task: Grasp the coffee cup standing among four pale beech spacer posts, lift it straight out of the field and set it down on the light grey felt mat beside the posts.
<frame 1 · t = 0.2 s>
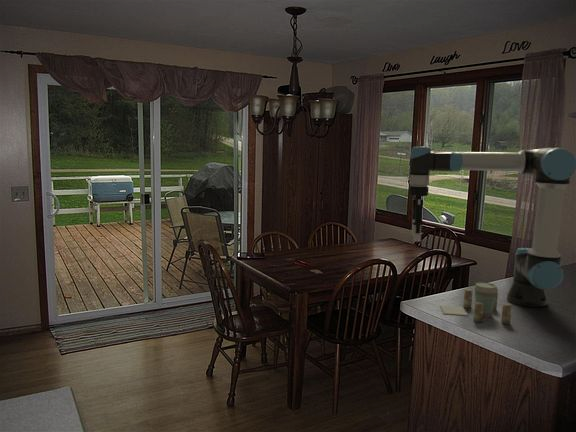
hand: (415, 238, 194), 28 cm above the table, fingers open, 13 cm apart
spacer posts: (483, 314, 187), on the table
felt mat: (453, 311, 190), on the table
coffee cup: (483, 315, 187), on the table
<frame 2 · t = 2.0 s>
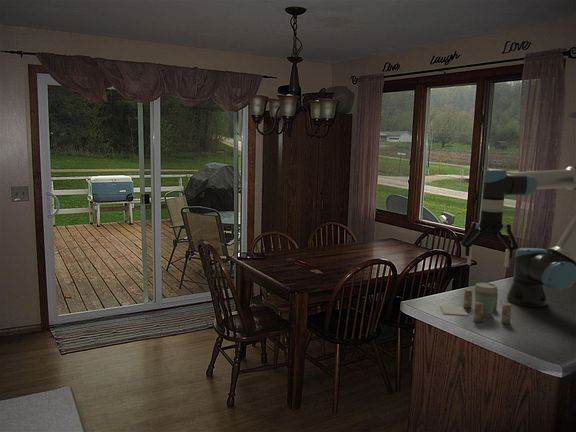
hand: (487, 265, 184), 20 cm above the table, fingers open, 13 cm apart
nothing on the table moved.
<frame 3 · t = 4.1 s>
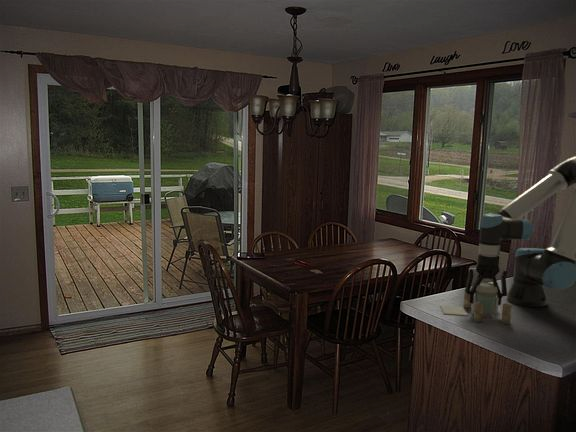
hand: (484, 311, 186), 1 cm above the table, fingers closed on coffee cup, 8 cm apart
coffee cup: (483, 315, 187), on the table, touching gripper
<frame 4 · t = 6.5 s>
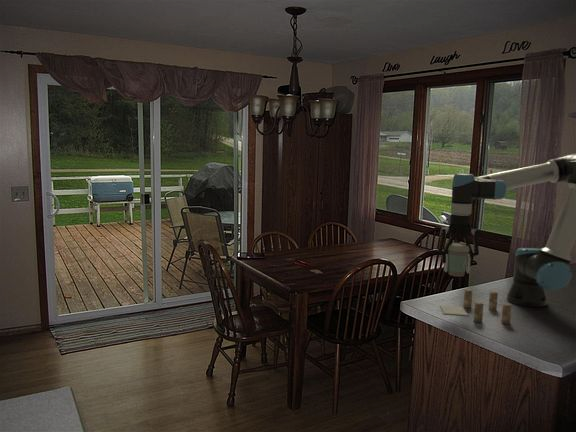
hand: (456, 271, 188), 16 cm above the table, fingers closed on coffee cup, 8 cm apart
coffee cup: (456, 275, 188), point 15 cm above the table, touching gripper
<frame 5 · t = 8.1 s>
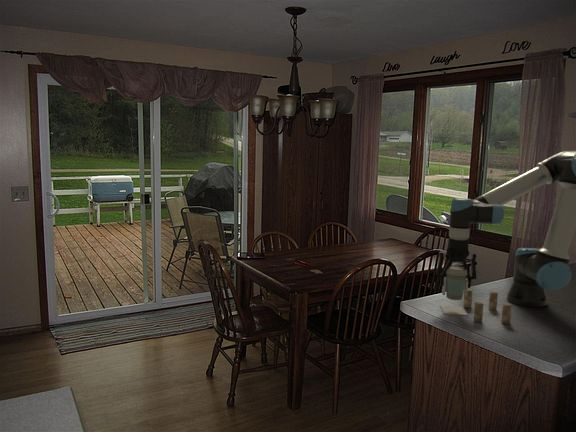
hand: (454, 294, 189), 7 cm above the table, fingers closed on coffee cup, 8 cm apart
coffee cup: (454, 298, 189), point 5 cm above the table, touching gripper
when the fingers open (3 cm above the table, at t = 9.2 s): coffee cup moves 2 cm, point 1 cm above the table.
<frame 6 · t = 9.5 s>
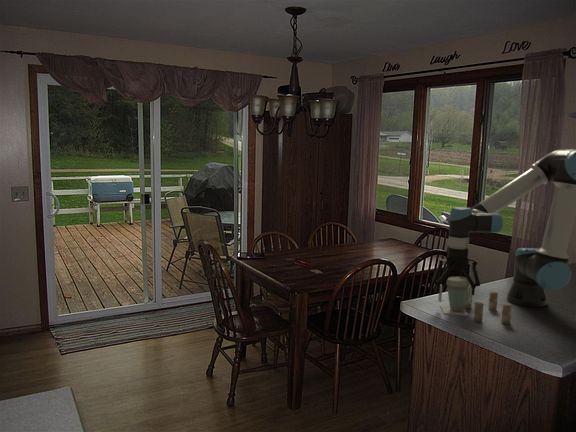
hand: (454, 301, 190), 4 cm above the table, fingers open, 10 cm apart
coffee cup: (457, 309, 190), point 1 cm above the table
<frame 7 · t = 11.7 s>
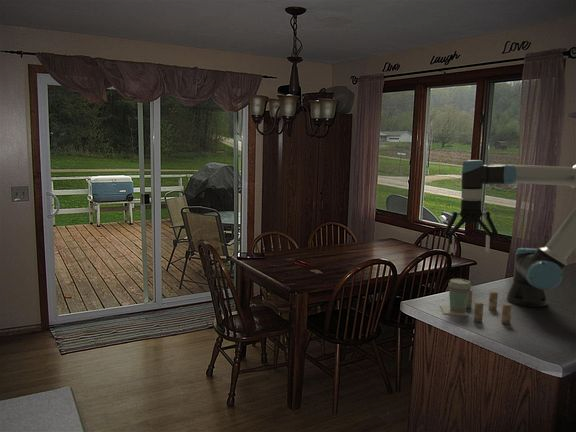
hand: (469, 252, 192), 23 cm above the table, fingers open, 13 cm apart
coffee cup: (457, 311, 190), resting on felt mat
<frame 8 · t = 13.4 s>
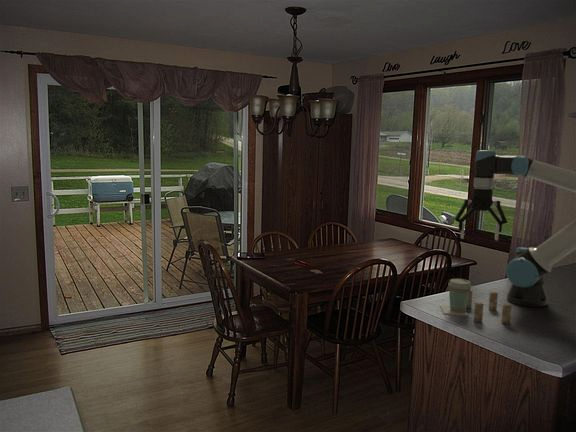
hand: (479, 239, 199), 27 cm above the table, fingers open, 13 cm apart
nothing on the table moved.
at the end: coffee cup inside the target area on the felt mat (1.6 cm from its centre), point 0.2 cm above the felt mat's base; coffee cup tilted 0°; the gripper is holding nothing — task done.
